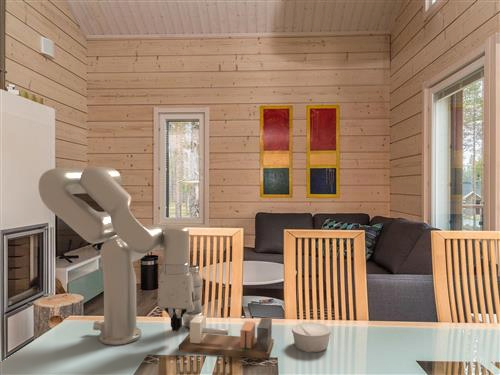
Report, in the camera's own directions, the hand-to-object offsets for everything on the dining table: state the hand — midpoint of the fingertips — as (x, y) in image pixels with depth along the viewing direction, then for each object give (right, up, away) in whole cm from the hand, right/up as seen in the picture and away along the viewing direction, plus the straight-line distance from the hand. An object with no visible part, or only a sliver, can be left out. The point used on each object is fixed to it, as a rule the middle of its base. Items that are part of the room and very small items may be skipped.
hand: (176, 329), depth 124 cm
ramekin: (+40, -5, -1) cm, 40 cm away
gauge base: (+15, -4, -3) cm, 16 cm away
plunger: (+10, -2, -2) cm, 11 cm away
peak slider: (+21, -3, -5) cm, 22 cm away
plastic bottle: (+3, -4, +14) cm, 15 cm away
